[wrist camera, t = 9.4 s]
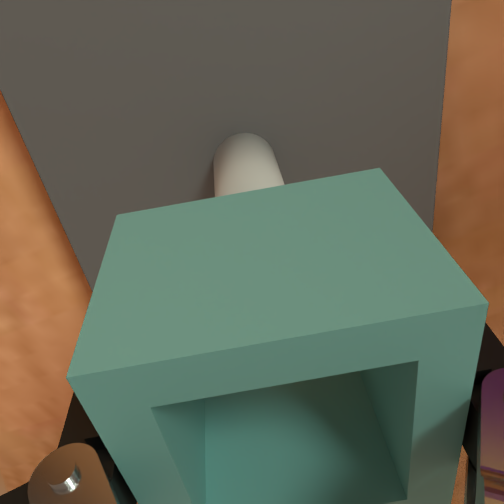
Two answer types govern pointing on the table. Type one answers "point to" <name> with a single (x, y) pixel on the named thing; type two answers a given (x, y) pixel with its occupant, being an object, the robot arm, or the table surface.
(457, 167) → the table surface
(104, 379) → the collar
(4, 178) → the table surface
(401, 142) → the post plate
